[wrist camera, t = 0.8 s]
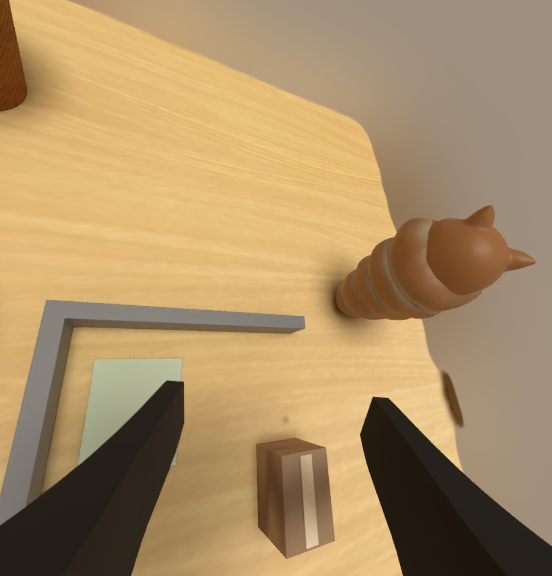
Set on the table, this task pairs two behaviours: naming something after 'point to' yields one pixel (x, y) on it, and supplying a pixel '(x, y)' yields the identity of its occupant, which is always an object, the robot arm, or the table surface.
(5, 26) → the disposable coffee cup
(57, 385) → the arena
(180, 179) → the table surface
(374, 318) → the cat ice cream
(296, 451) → the brown cardboard box
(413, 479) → the robot arm
